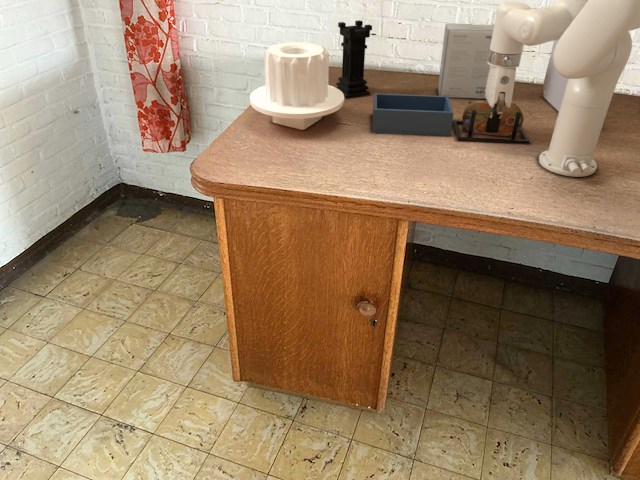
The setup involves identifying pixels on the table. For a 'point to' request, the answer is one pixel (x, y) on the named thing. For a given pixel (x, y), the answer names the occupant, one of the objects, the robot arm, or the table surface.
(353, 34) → the chess piece
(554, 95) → the game console
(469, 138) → the rack
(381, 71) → the table surface
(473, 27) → the hard drive box
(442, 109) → the open box
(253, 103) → the flanged gear
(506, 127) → the tin
